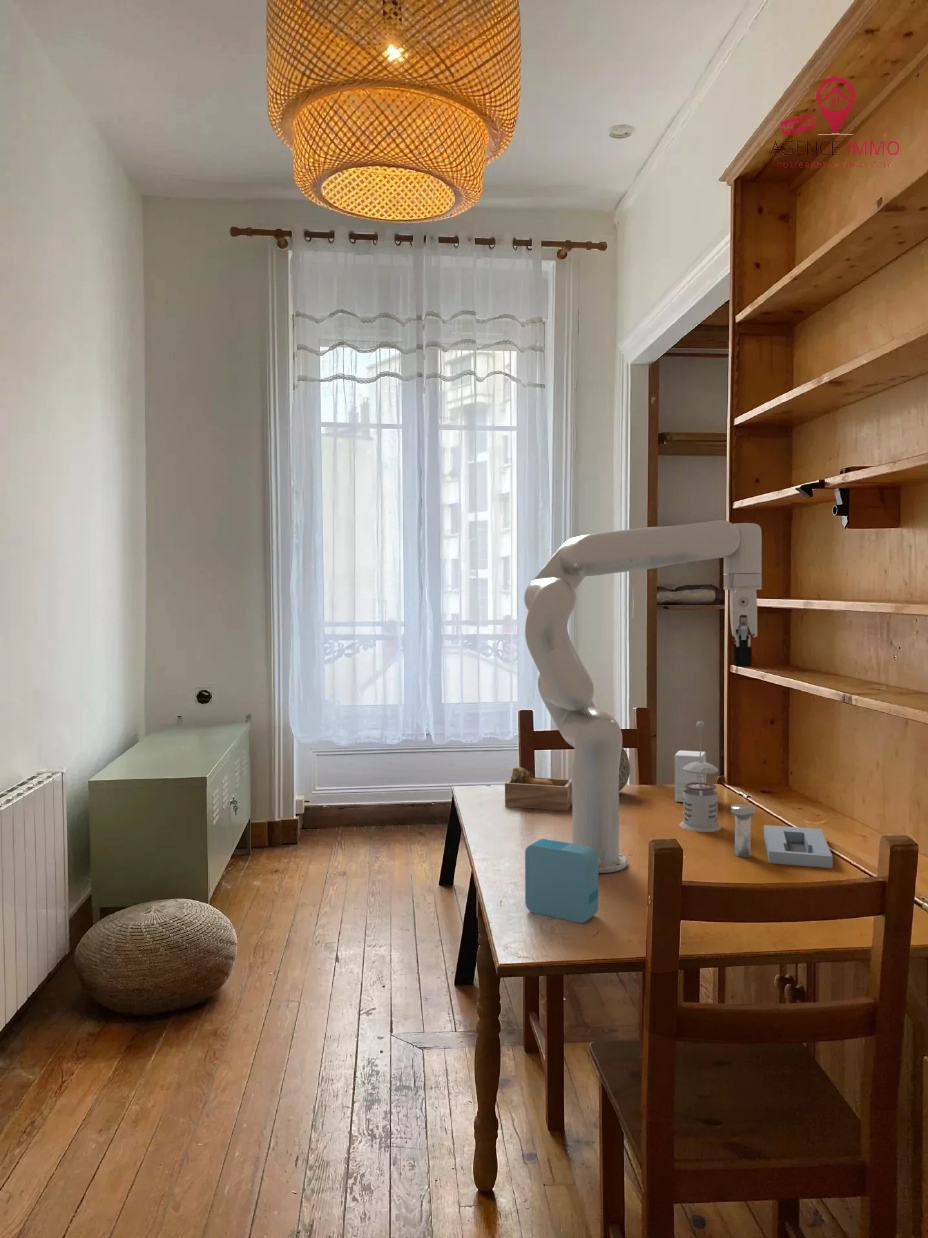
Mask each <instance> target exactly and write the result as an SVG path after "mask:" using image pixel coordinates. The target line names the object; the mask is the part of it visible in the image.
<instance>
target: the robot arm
mask: <svg viewBox="0 0 928 1238" xmlns="http://www.w3.org/2000/svg"><path fill="white" fill-rule="evenodd" d="M762 536H763V535H762V527H761V526H760V525H759V524H758V523H754V522H753V523H752V522H751V523H750V522H743V523H742V522H741V523H738V522H737V523H732V522H730V521H728V520H722V519H720V520H719V519H718V520H712V521H711V520H710V521H704V522H697V523H695V522H694V523H688V524H678V525H670V526H669V525H668V526H648V527H647V526H646V527H640V528H639V527H638V528H631V529H624V530H614V531H605V532H596V533H589V534H588V533H587V534H583V535H579V536H575V537H571V538H569V539H568V540H566V541H565V542H564V543H562V545H561V546H560V547H559V548H558V549H557V550H556V552H555V553H554V554H553V555H552V556H551V558H549V560H548V561H547V562H546V564H544V565H543V567H542V568H541V569H540V570H539V572H538V573H537V574H536V575H535V577H533V579H532V580H531V581H530V583H528V585H527V587H526V589H525V592H524V604H525V608H526V610H527V614H526V620H525V625H524V626H525V627H524V636H525V641H526V646H527V649H528V652H529V654H530V655H531V657H532V660H533V662H534V664H535V666H536V668H537V670H538V673H539V674H538V678H537V688H538V692H539V695H540V697H541V699H542V701H543V703H544V705H545V707H546V709H547V711H548V713H549V715H550V717H551V718H552V720H553V722H554V723H555V726H556V727H557V730H558V731H559V733H560V734H561V736H562V739H564V741H565V742H566V743H567V744H568V745H569V746H571V747H573V748H574V754H573V755H574V756H573V763H572V769H571V770H572V771H571V772H572V773H571V779H572V804H571V806H572V808H571V810H572V815H571V818H572V819H571V821H572V822H571V824H572V825H571V827H572V843H571V844H577V845H583V846H589V847H592V848H594V849H595V850H596V852H597V854H598V874H610V873H615V872H619V871H622V870H623V869H625V868H626V867H627V866H628V861H627V860H628V859H627V857H626V856H625V855H623V854H622V853H620V791H619V765H620V756H621V750H622V747H623V732H622V730H621V726H620V724H619V723H618V720H616V719H615V718H614V716H612V715H611V714H609V713H608V712H606V711H603V710H601V709H599V708H597V707H596V706H595V703H594V701H593V697H594V694H595V689H594V687H595V686H594V683H593V681H592V678H591V676H590V674H589V673H588V671H587V669H586V667H585V666H584V664H583V662H582V661H581V658H580V657H579V654H578V652H577V650H576V649H575V647H574V644H573V643H572V640H571V638H570V635H569V632H568V625H569V624H568V623H569V619H570V616H571V615H572V613H573V610H574V608H575V606H576V604H577V603H576V602H577V594H576V591H575V590H576V589H577V588H578V587H579V586H580V584H581V583H582V582H583V580H584V579H585V578H586V577H593V576H596V577H597V576H603V575H610V574H618V573H626V572H634V571H643V570H648V569H650V570H651V569H657V568H662V567H665V566H666V567H667V566H671V565H675V564H676V565H677V564H683V563H690V562H698V561H707V560H714V559H715V560H716V559H722V558H723V591H726V590H727V591H728V590H729V617H730V618H729V619H730V621H729V622H730V629H731V635H732V637H734V643H733V662H734V665H735V667H740V668H741V667H743V668H746V667H747V668H749V667H752V661H753V660H752V659H753V657H752V656H753V654H752V649H753V648H752V646H751V645H752V642H751V636H752V637H753V638H756V637H758V598H757V590H762V585H763V583H762V581H763V580H762V577H763V576H762V564H763V563H762V561H763V559H762V556H763V555H762V547H763V546H762V543H763V541H762Z"/></svg>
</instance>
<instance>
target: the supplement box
mask: <svg viewBox="0 0 928 1238" xmlns="http://www.w3.org/2000/svg"><path fill="white" fill-rule="evenodd" d="M698 761H700V750H699V751H698V750H697V751H696V750H678V751H677V752H676V753H675V754H674V800H675V803H677V802H679V803H683V798H684V797H683V791H684V790H686V789H688V788H686V786H685V784H686V783H689V782H693V783H694V782H697V774H694V773H689V772H686V771H685V770H684V769H683V767H684V766H686V765H688V764H689V763H692V762H698ZM701 761H702V762H705V763H707V753H706V751H701ZM703 775H704V774H701V776H703ZM698 776H700V774H698ZM699 782H700V777H698V783H699ZM703 782H704V777H701V783H703ZM705 783H707V774H705ZM699 796H702V791H699ZM684 802H685V800H684Z"/></svg>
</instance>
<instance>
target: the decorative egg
mask: <svg viewBox="0 0 928 1238" xmlns="http://www.w3.org/2000/svg"><path fill="white" fill-rule="evenodd" d="M630 772H631V767H630V760H629V757H628V754H627V752H626V750H625V749H624V747H623V746H622V750H621V756H620V765H619V792H620V791H621V790H622V789H623V788H625V786H626V785H627V784H628V782H629V777H630V774H631V773H630Z"/></svg>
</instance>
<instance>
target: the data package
mask: <svg viewBox="0 0 928 1238" xmlns="http://www.w3.org/2000/svg"><path fill="white" fill-rule="evenodd" d="M524 870H525V871H524V876H525V877H524V880H525V881H524V882H525V883H524V885H525V888H524V889H525V890H524V891H525V892H524V893H525V897H524V900H525V901H524V902H525V906H526V908H527V910H528V911H529V912H531V913H534V914H537V915H541V916H546V917H550V918H555V919H560V920H564V921H568V922H573V923H578V924H585V923H586V922H588V921H589V920H590V919H591V918H592V917H593V916H595V915H596V913H598V910H599V873H598V854H597V852H596V850H595V849H594V848H592V847H589V846H583V845H577V844H572V843H570V842H564V841H559V840H554V839H553V840H552V839H545V838H541V839H540V838H539V839H538V840H537V841H535V842H533V843H531V844H530V845H527V847H526V848H525V851H524Z"/></svg>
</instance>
